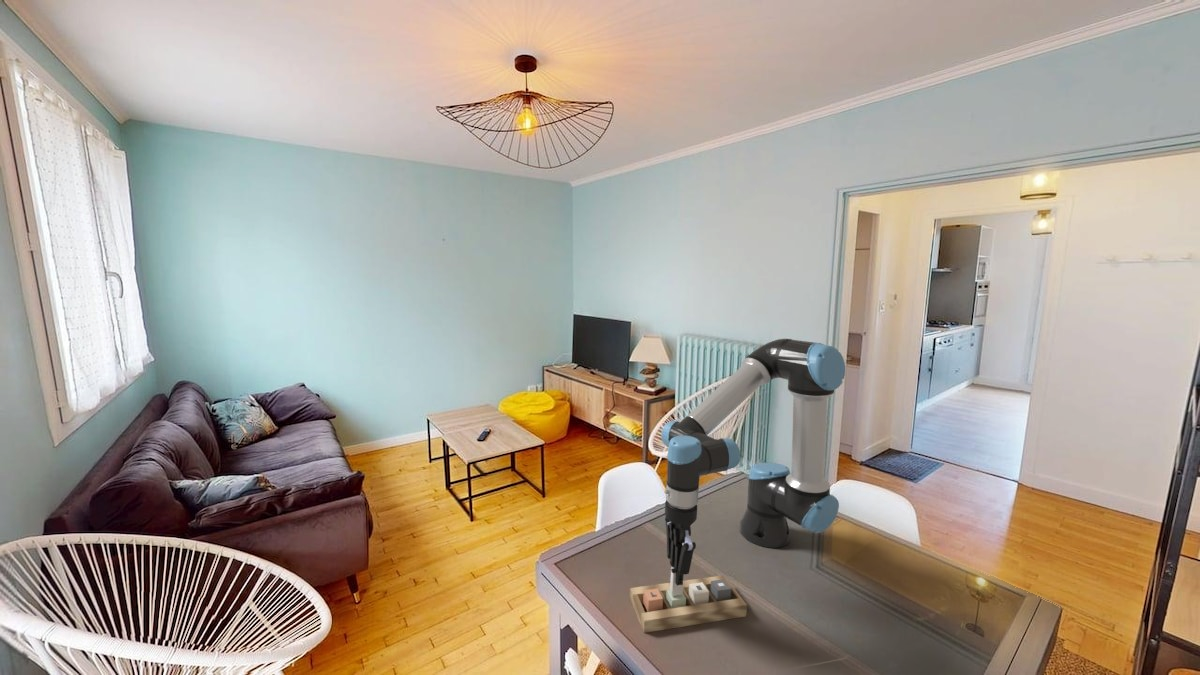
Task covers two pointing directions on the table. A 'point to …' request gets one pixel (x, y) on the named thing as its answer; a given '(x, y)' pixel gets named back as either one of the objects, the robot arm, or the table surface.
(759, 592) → the table surface
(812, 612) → the table surface
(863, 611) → the table surface
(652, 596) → the terracotta key
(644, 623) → the keypad frame
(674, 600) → the sage key
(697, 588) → the cream key
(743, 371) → the robot arm
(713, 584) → the charcoal key
